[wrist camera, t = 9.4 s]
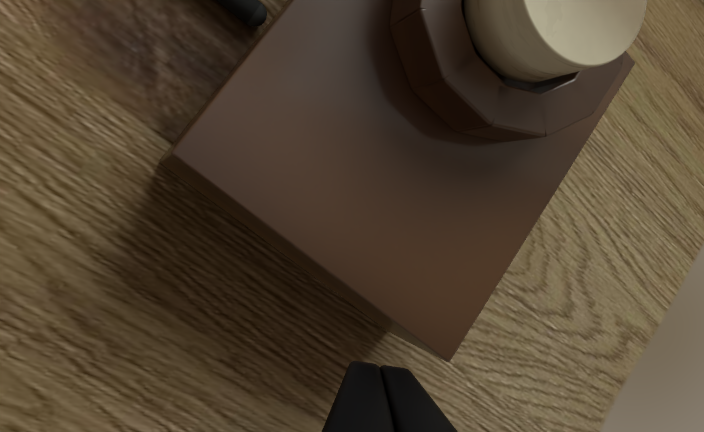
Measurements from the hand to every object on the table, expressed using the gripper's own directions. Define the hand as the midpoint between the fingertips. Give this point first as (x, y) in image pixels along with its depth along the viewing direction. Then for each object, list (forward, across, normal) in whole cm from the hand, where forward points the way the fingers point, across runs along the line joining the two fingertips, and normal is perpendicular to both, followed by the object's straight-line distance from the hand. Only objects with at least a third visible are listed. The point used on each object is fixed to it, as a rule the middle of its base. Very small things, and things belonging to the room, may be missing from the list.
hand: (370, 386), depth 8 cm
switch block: (+14, -2, 0) cm, 14 cm away
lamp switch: (+11, -4, -5) cm, 12 cm away
